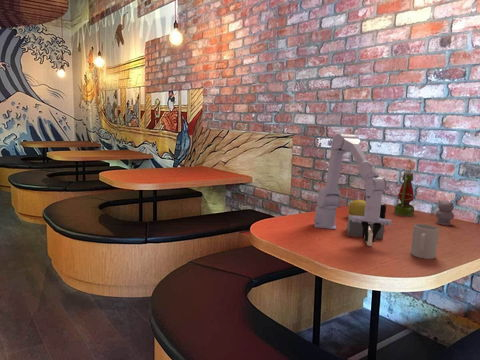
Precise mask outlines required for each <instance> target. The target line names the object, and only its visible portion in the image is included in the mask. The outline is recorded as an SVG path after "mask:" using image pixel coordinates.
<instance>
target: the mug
mask: <svg viewBox="0 0 480 360" xmlns="http://www.w3.org/2000/svg"><path fill="white" fill-rule="evenodd" d="M439 233H440V228H439V227H437V226H436V225H432V224H426V223H416V224H414V225H413V231H412V240H411V247H410V255H411V256H413V257H416V258H418V259H423V258H424V260H433V258H434V259H435V258H437V249H438V241H439Z"/></svg>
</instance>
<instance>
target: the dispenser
mask: <svg viewBox="0 0 480 360" xmlns="http://www.w3.org/2000/svg"><path fill="white" fill-rule="evenodd" d="M347 216H348V217H347V225H346V226H347V227H346V232H347V235H348V236H350V237H359V238H362V237H363V234H364V230H363V227H362V224H361V222H352V216H357V215H350V214H348V215H347ZM358 217H364V216H358ZM368 225H369V226H370V228H371V230H372V232H373V223H368ZM384 232H385V225H383V224H381V228H380V230H379V231H378V233H377V235H376V237H375V239H377V240H384Z"/></svg>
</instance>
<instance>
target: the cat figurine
mask: <svg viewBox="0 0 480 360" xmlns="http://www.w3.org/2000/svg"><path fill="white" fill-rule="evenodd" d="M437 202H438V204H437V207H438V209H437V210H436V212H435V217H436V218H437V220H436V224H437V225H440V224H441V226H447V225H449V226H451V221H452V220H453V219H454V218H455V214H454V212H453V210H454V209H455V208H454V207H455V206H454V202H451V201H449V200H440V199H437Z"/></svg>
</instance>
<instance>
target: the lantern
mask: <svg viewBox="0 0 480 360" xmlns="http://www.w3.org/2000/svg"><path fill="white" fill-rule="evenodd" d="M409 163H410V166H412V165H413V164H412V160H410V159H409V160H408V161H407V164H406V171H405V172H403V175H402V179H401V180H402V181H403V182H402V184H401V187H400V189H399V192H397V198H398V200H399V202H400V203H397V204H395V205H394V210H393V214H394V215H396V216H400V217H414V216H415V214H414V212H415V207H414V205H412V204H410V203H411V202H412V201H413V200H414V198H415V194H414V188H413V181H414V173H413V172H412V167H408V166H409Z"/></svg>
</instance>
